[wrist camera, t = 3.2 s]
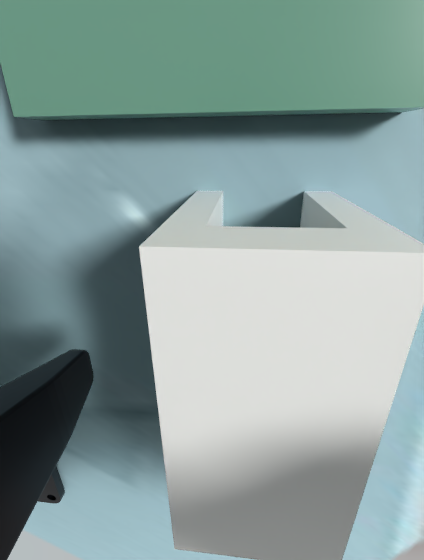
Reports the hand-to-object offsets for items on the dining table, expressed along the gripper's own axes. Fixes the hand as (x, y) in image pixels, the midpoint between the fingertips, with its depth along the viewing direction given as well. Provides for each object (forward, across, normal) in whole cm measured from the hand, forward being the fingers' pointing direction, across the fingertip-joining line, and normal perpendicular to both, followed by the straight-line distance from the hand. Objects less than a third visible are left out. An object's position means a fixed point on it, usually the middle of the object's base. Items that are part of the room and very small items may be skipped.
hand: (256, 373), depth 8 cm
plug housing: (+3, 0, 0) cm, 3 cm away
